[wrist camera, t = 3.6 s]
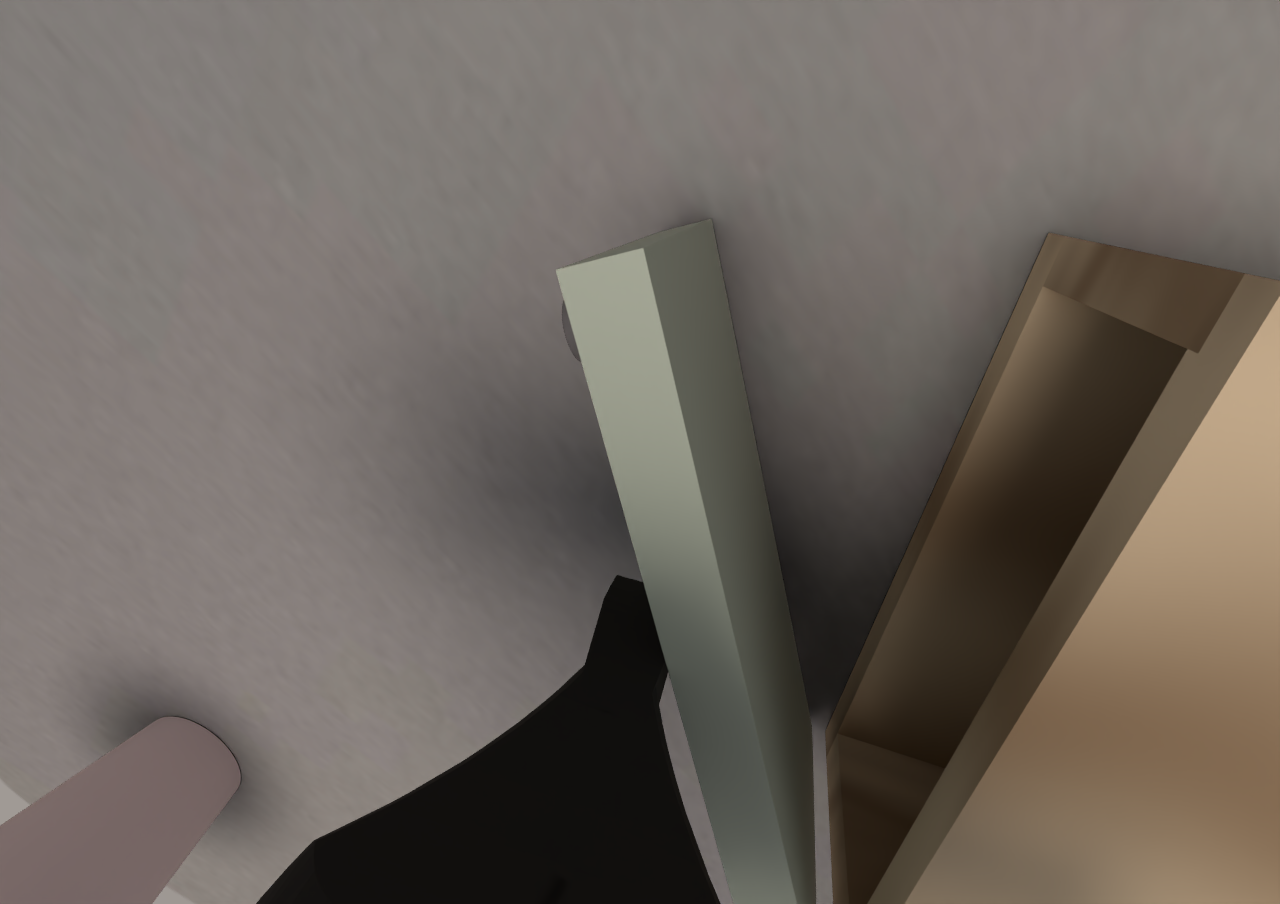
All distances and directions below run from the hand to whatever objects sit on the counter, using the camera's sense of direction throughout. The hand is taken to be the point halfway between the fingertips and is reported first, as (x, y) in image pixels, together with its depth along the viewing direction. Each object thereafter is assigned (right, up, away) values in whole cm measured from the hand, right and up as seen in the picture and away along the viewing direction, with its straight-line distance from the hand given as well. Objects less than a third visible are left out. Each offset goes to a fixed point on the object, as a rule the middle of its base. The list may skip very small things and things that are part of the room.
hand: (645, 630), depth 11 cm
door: (+2, +2, +3) cm, 4 cm away
